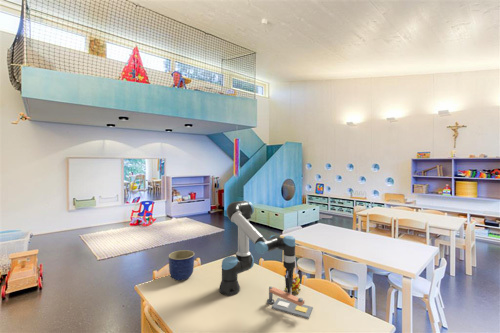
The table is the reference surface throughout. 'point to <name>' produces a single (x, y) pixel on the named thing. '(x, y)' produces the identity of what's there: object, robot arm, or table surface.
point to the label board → (292, 308)
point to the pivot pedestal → (270, 302)
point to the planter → (181, 264)
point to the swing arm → (285, 296)
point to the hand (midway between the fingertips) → (289, 296)
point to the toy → (295, 285)
